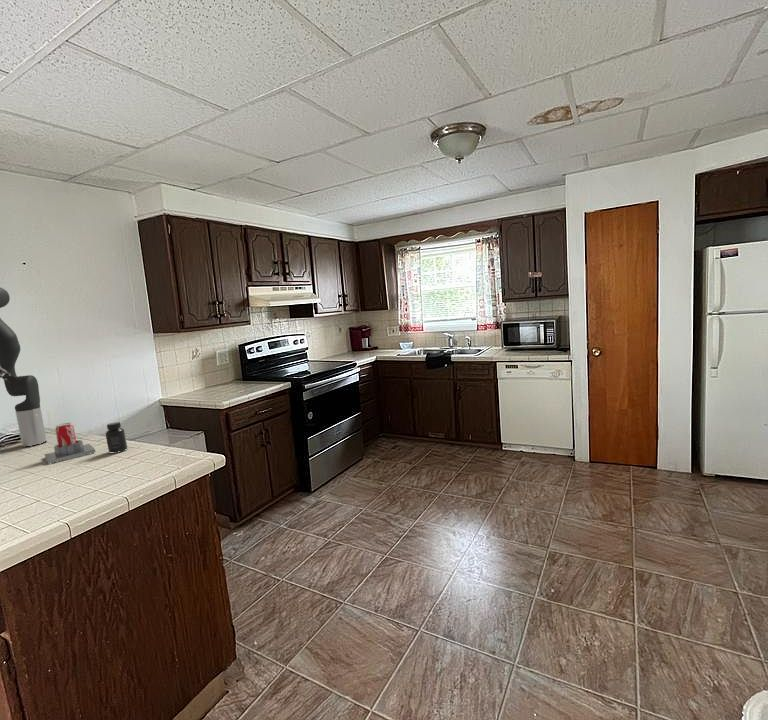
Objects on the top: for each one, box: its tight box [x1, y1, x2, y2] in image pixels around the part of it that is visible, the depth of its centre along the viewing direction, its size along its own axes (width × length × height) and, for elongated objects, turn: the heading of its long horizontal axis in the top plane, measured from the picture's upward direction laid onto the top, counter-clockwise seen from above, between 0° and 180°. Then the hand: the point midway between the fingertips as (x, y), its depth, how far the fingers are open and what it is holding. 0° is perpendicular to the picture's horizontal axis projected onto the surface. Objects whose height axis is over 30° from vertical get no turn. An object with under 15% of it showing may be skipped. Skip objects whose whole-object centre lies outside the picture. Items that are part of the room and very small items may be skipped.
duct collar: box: [44, 439, 96, 465], centre depth 182 cm, size 14×16×5 cm
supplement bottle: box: [105, 421, 128, 453], centre depth 182 cm, size 7×7×12 cm
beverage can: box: [54, 422, 77, 447], centre depth 182 cm, size 6×6×12 cm
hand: (17, 382), depth 181 cm, fingers open, 8 cm apart
